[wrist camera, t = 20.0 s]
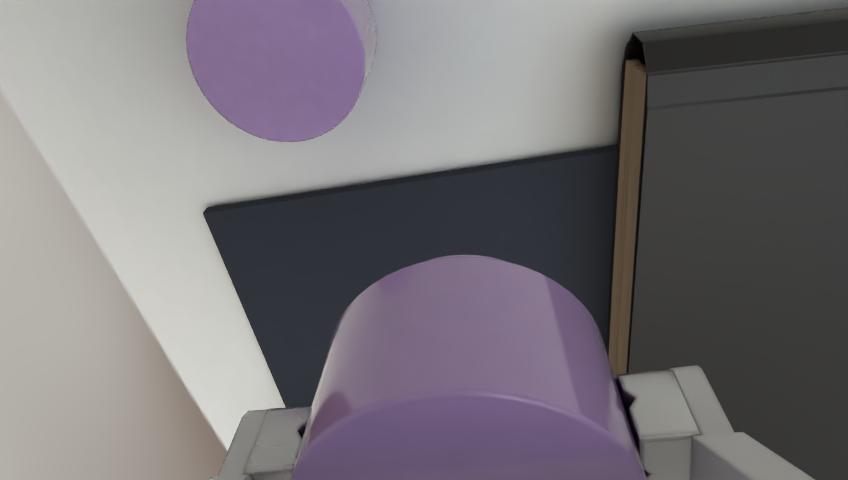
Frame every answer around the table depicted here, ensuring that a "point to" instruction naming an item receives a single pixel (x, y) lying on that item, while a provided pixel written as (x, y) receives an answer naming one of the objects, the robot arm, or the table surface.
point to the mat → (410, 245)
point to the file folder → (740, 224)
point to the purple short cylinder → (281, 62)
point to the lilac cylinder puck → (467, 382)
